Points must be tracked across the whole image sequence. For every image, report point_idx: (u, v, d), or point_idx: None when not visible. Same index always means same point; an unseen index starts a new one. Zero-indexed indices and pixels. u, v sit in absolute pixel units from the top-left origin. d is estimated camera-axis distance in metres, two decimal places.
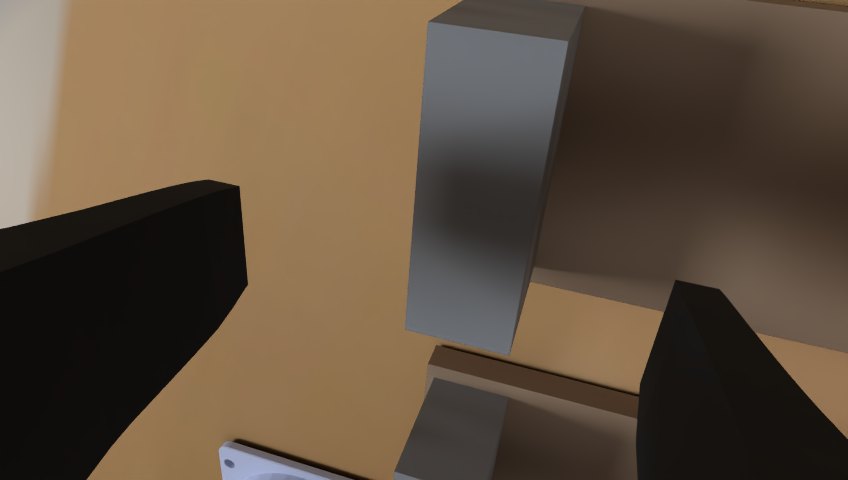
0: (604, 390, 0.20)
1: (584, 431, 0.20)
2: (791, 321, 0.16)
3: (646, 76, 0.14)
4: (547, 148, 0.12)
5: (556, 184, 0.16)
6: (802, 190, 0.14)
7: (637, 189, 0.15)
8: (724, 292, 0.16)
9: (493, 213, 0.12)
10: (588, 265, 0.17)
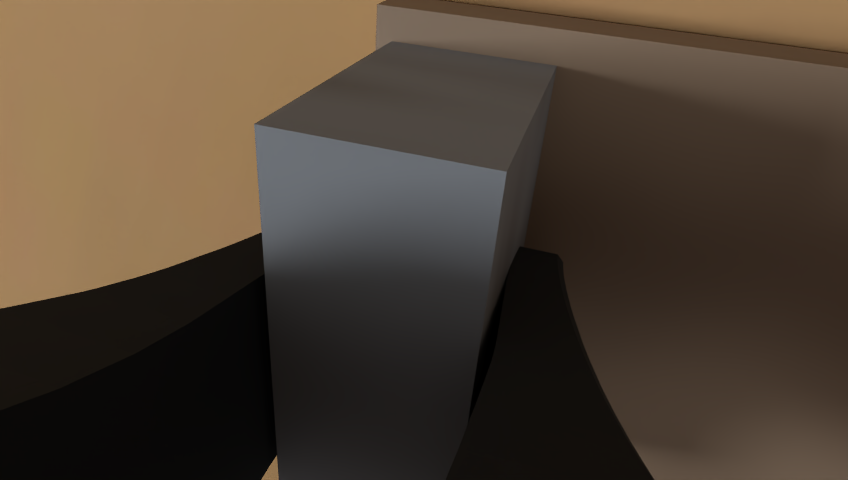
0: None
1: None
2: None
3: (652, 173, 0.09)
4: (479, 341, 0.07)
5: None
6: None
7: (638, 328, 0.10)
8: (765, 470, 0.11)
9: (397, 425, 0.07)
10: None
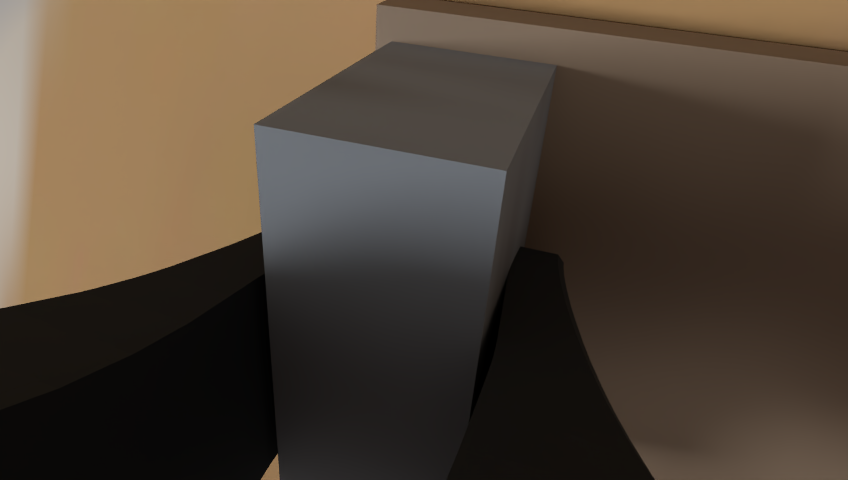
0: None
1: None
2: None
3: (653, 172, 0.09)
4: (479, 341, 0.06)
5: None
6: None
7: (639, 328, 0.10)
8: (767, 470, 0.11)
9: (399, 425, 0.07)
10: None
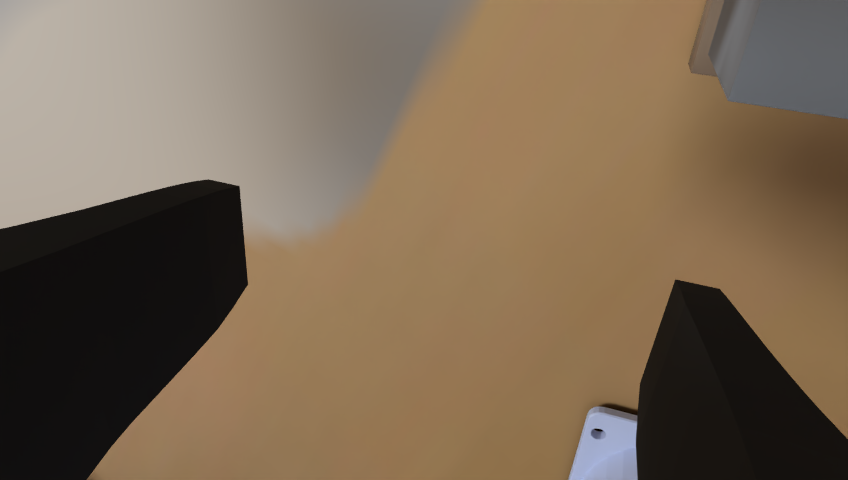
0: None
1: None
2: None
3: None
4: None
5: None
6: None
7: None
8: None
9: None
10: None
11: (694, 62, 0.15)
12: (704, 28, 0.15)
